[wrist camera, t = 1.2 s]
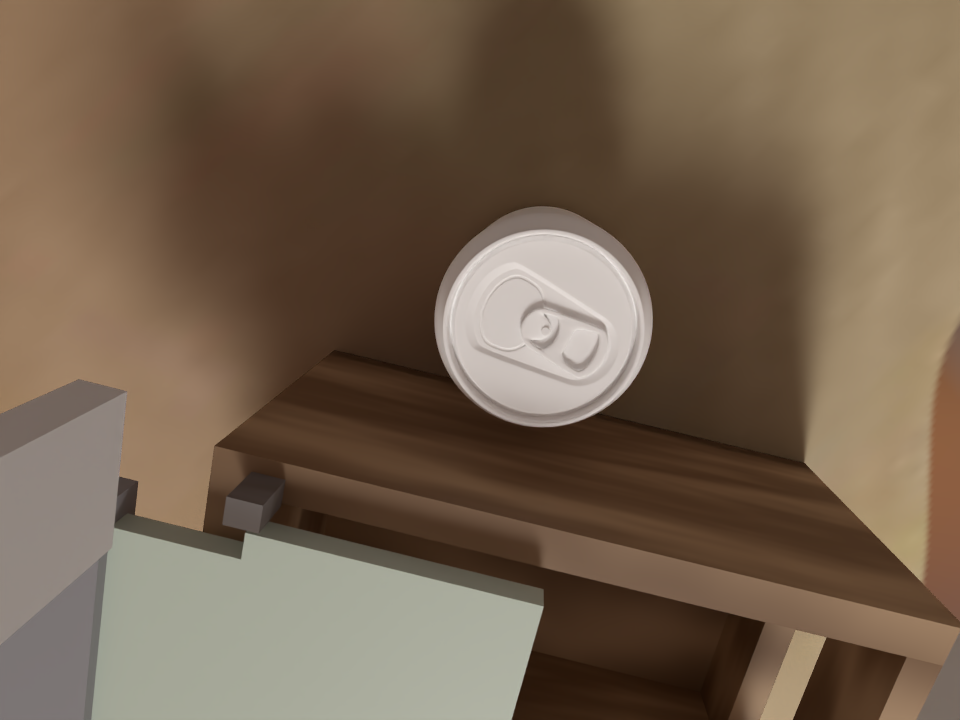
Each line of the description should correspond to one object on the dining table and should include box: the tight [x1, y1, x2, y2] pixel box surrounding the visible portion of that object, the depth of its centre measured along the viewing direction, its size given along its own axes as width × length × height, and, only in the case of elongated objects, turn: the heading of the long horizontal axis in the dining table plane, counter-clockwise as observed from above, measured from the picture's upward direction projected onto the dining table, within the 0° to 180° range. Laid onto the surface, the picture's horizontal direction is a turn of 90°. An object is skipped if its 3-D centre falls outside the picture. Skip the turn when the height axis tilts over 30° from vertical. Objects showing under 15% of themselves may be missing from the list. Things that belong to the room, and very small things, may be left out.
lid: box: [0, 477, 544, 720], centre depth 25 cm, size 12×18×2 cm, turn 77°
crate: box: [203, 351, 960, 720], centre depth 31 cm, size 16×26×16 cm, turn 77°
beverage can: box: [434, 206, 653, 427], centre depth 30 cm, size 8×8×12 cm
